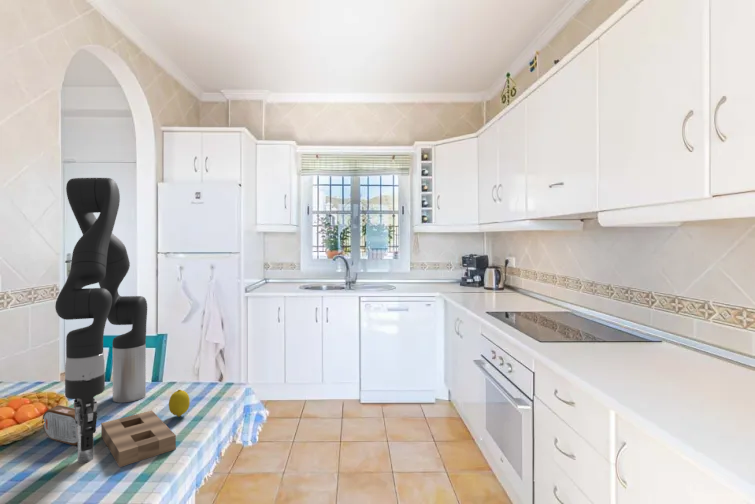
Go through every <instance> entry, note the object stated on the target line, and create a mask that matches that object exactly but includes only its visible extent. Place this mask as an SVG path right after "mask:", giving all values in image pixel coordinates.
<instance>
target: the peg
mask: <svg viewBox="0 0 755 504" xmlns="http://www.w3.org/2000/svg"><path fill="white" fill-rule="evenodd" d="M81 421H83V420H81ZM88 428H91V427H88ZM88 428H86V429H88ZM93 459H94V447H93V448H92V449H90V450H87V451H81V435H80V426H79V425H78V445H77V463H79V464H85V463H88V462H91V461H92V460H93Z"/></svg>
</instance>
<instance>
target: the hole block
mask: <svg viewBox="0 0 755 504" xmlns="http://www.w3.org/2000/svg"><path fill="white" fill-rule="evenodd" d="M100 425H101V426H100V427H101V438H102V440H103V442H104V443H105V445H106V447H107V448H108V450H109V452H110V453H111V455H112V457H113V459H114V460H115V462H116V464H117V465H118V467H119V468H121V467H125V466H128V465H131V464H134V463H139V462H140V461H143V460H147V459H149V458H153V457H156V456H159V455H162V454H165V453H168V452H171V451H174V450H176V447H177V446H176V444H177V443H176V442H177V441H176V440H177V437H176V435H177V434H175V432H173V431H172V429H170V428H169V426H167V424H166V423H165V422H163V420H162V419H161V418H160V417H159V416H158V415H157V414H156V412H154V411H153V410H149V411H143V412H140V413H135V414H132V415H129V416H126V417H125V416H124V417H120V418H116V419H113V420H109V421H105V422H101V424H100Z"/></svg>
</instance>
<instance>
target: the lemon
mask: <svg viewBox="0 0 755 504" xmlns="http://www.w3.org/2000/svg"><path fill="white" fill-rule="evenodd" d="M190 403H191V401H190V397H189V394H188V392H187V391H185V390H182V389H177V391H174V392H173V393H172V394H171V395H170V397H169V400H168V410H169V412H170V413H171V414H172V415H174V416H177V417H178V418H180V417H181V416H183V415H184V414H185V413H187V411H188V410H189V408H190Z"/></svg>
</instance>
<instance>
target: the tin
mask: <svg viewBox="0 0 755 504" xmlns="http://www.w3.org/2000/svg"><path fill="white" fill-rule="evenodd" d="M43 419H44V422H45V423H44V425H43V424H42V427H43V432H44V433H45V434H46V436H47V438H49V439H51V440H53V441H54V442H55V441H56V442H60V443H63V444H67V445H71V446H78V429H77V424H76V422H75V421H76V420H75V409H74V407H70V406H69V407H68V406H64V405H61V404H60V405H56V406H54V407H51V408H49V409H47V410H45V412H44V413H43V414H42V420H43Z"/></svg>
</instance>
